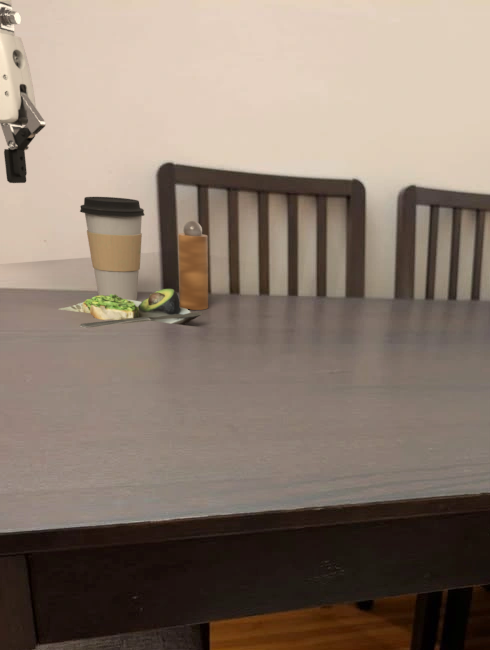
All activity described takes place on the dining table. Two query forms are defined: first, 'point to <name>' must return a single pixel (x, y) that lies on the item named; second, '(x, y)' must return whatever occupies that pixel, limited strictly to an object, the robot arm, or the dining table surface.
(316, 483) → the dining table surface
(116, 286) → the coffee cup
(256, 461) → the dining table surface
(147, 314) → the avocado toast
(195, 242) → the pepper grinder
